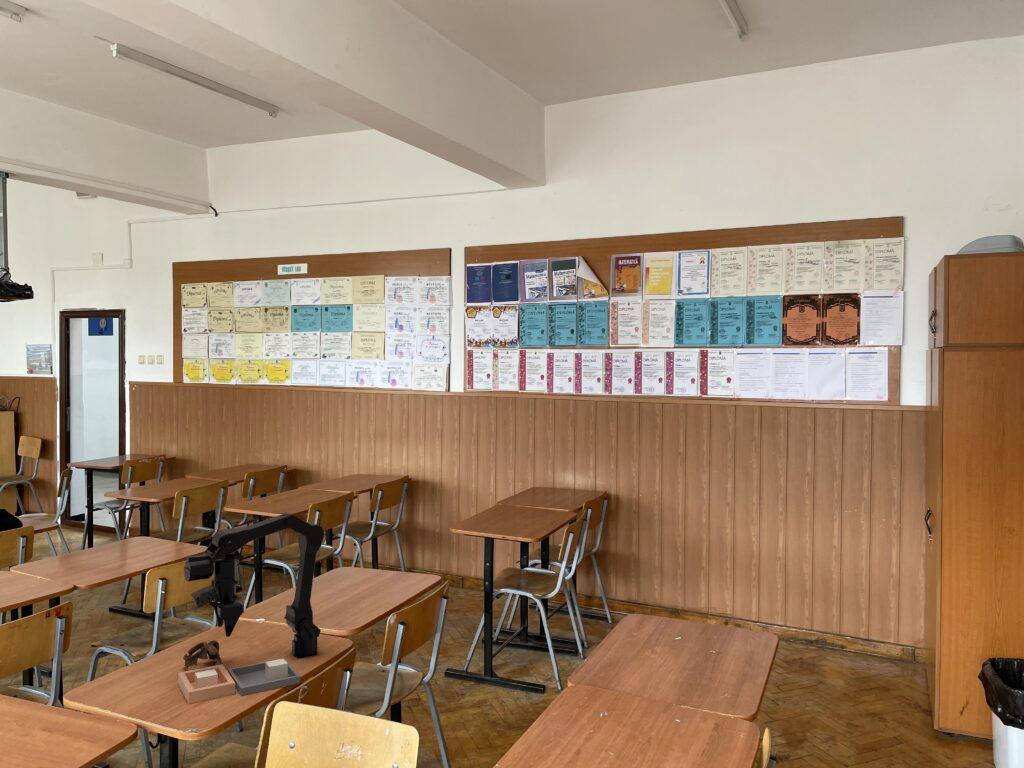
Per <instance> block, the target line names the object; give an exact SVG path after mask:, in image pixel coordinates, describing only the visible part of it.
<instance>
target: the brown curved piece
mask: <svg viewBox="0 0 1024 768" xmlns="http://www.w3.org/2000/svg"><path fill="white" fill-rule="evenodd" d="M219 651H220V644H219V642H218V641H217V640H214V639H212V640H210V641H209V642H207V641H201V642H198V643H197V644H195V645H193V647H191V648H190V649H189V650H188V651H187V653H185V654H184V655H183V657H182V659H183V660H184V667H185V668H188V667H191V666H195V667H197V666H198V661H199V659H200V660H208V659H209V660H211V661H215V660H216V662H215V663H214V666H216V665H221V664H222V665H223V664H224V663H223V661H222V658H221V657H220V652H219ZM223 666H224V665H223Z"/></svg>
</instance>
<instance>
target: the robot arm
mask: <svg viewBox="0 0 1024 768" xmlns="http://www.w3.org/2000/svg"><path fill="white" fill-rule="evenodd" d="M288 529H290V530H291V531H293V532H295V533H297V543H298V548H299V559H298V560H299V561H298V569H297V578H296V582H295V583H296V585H295V591H294V599H293V601H292V603H291V604H289V605H288V604H287V605H285V606H286V607H285V610H286V611H285V615H284V617H283V618H284V620H285V624H286V625H287V626H288V627H289V628H290V629H291V630H292V632H293V633H295V634H293V640H291V655H293V656H294V657H296V658H297V659H298V660H299V659H305V658H310V657H314V656H319V655H320V654H319V652H318V638H319V637H320V635H321V631H322V629H320V628H319V627H318V626H317V625H316V624H314V612H313V609H312V604H311V598H312V591H313V582H314V574H315V567H316V560H317V553H319V551H320V549H321V547H322V545H323V541H324V538H325V529H324V528H323V527H322V525H321V526H320V525H319V524H316V523H314V522H312V521H304V520H302V519H300V518H299V517H297V516H295V514H293V513H290V512H283V513H282V514H279V515H277V516H273V517H271V518H267V519H265V520H262V521H258V522H256V523H253V524H250V525H246V526H241V527H231V528H223V529H220V530H219V529H218V530H217V531H216V532H215V533H214V534H213V536H212V538H211V542H210V543H209V545H208V546H207V548H206V549H205V550H204V552H203V554H199V555H198V554H197V555H187V556H186V560H185V563H184V566H183V576H184V580H185V581H186V583H189V582H195V581H201V580H208V579H210V578H211V577H213V578H212V579H211V580H210V585H208V586H204V587H203V588H201V589H198V590H196V591H194V592H192V593H191V594H190V596H191V598H192V600H193V601H192V602H193V605H195V606H196V608H197V609H200V608H202V607H204V606H205V605H210V607H212V608H213V611H214V614H215V615H214V616H215V619H216V623H217V627H218V628H222V627H223V629H224V633H225V637H226V638H228V637H231V635H232V633H233V631H234V629H235V627H236V626H237V623H238V621H239V619H240V618H241V616H242V615H243V614H244V613H245V605H244V604H243V603H242V602H241V601H239V600H238V594H237V593H236V585H238V579H237V577H236V574H237V570H236V569H237V562H236V561H237V560H243V559H244V558H245V557H244V555H242V554H241V553H240V552H239V550H241V549H242V548H244V547H245V545H247V544H249V543H250V542H253V541H255V540H258V539H261V538H265V537H266V536H270V535H272V534H275V533H278V532H281V531H283V530H288Z"/></svg>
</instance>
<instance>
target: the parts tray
mask: <svg viewBox="0 0 1024 768" xmlns="http://www.w3.org/2000/svg"><path fill="white" fill-rule="evenodd" d="M279 659H280V658H277V659H276V660H279ZM281 659H284V660H285V661H286V662H287V663H288V677H287V678H282V679H278V680H273V681H268V679H267V678H266V677H265V662H268V661H269V660H267V661H262V662H258V663H257V662H256V663H252V664H247V665H242V666H237V667H231V668H227V672H228V673H229V675H230V676H231V678H232V679H233V680H234V682H235V691H237V692H238V695H240V697H244V696H249V695H253V694H258V693H262V692H266V691H271V690H276V689H281V688H286V687H291V686H294V685H300V684H301V675H300V673H298V672H297V671H296V670H295V668H294V667H293V666H292V665H291V664H290V663H289V662H288V661H287V660H286V658H285V657H283V658H281ZM274 660H275V659H272V660H271V661H274Z"/></svg>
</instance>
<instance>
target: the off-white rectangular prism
mask: <svg viewBox="0 0 1024 768" xmlns="http://www.w3.org/2000/svg"><path fill="white" fill-rule="evenodd" d="M278 659H279V660H277V659H273V660H274V661H272V660H267V661H268V662H267V661H264V662H265V677H266V678H267V679H268V681H273V680H278V679H282V678H287V677H288V663H289V662H288V661H287V660H286V659H285V658H284V659H285V660H286V661H287V662H288V663H287V662H286V661H285V660H284V659H282V658H278Z"/></svg>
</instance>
